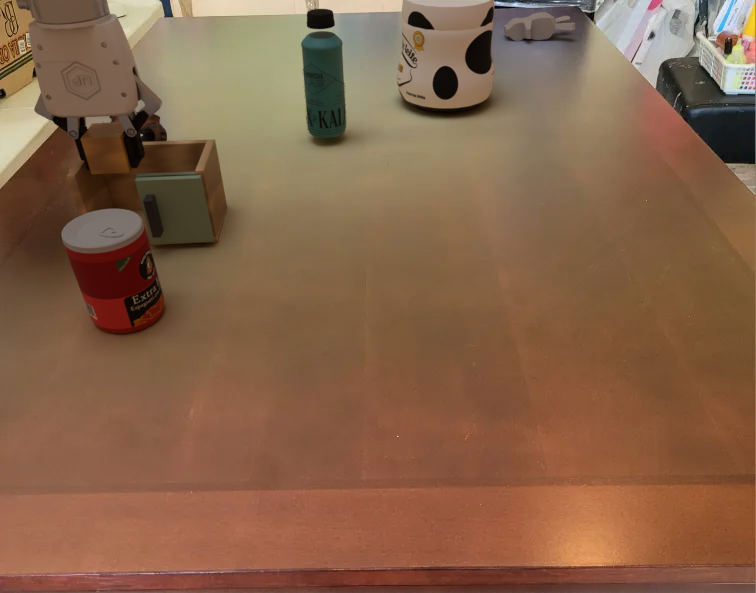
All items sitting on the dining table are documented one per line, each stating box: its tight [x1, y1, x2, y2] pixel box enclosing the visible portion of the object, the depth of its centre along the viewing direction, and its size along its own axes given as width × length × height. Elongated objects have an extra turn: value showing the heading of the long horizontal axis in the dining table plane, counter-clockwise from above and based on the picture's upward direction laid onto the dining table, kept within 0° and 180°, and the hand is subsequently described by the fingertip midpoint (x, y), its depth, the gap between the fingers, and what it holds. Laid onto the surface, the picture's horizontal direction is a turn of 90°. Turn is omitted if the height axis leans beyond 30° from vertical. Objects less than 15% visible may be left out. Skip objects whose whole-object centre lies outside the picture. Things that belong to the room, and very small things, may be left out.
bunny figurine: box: [503, 11, 576, 42], centre depth 149 cm, size 10×5×15 cm
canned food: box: [60, 209, 165, 334], centre depth 69 cm, size 8×8×11 cm
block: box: [81, 122, 132, 174], centre depth 79 cm, size 5×5×5 cm
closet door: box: [135, 175, 214, 245], centre depth 79 cm, size 8×2×9 cm, turn 93°
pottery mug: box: [108, 111, 168, 142], centre depth 102 cm, size 12×10×8 cm
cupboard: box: [66, 139, 228, 246], centre depth 83 cm, size 16×9×10 cm, turn 93°
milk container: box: [396, 0, 495, 112], centre depth 115 cm, size 17×17×18 cm
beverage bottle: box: [300, 8, 348, 139], centre depth 102 cm, size 6×7×20 cm
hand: (115, 162), depth 80 cm, fingers closed on block, 4 cm apart
